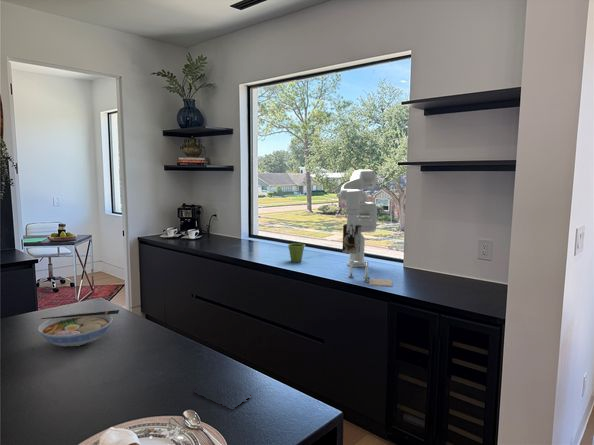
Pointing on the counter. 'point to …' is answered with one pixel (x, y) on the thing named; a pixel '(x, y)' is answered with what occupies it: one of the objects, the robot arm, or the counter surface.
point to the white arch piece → (365, 270)
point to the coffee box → (357, 240)
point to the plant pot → (296, 252)
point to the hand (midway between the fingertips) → (351, 242)
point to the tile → (381, 282)
